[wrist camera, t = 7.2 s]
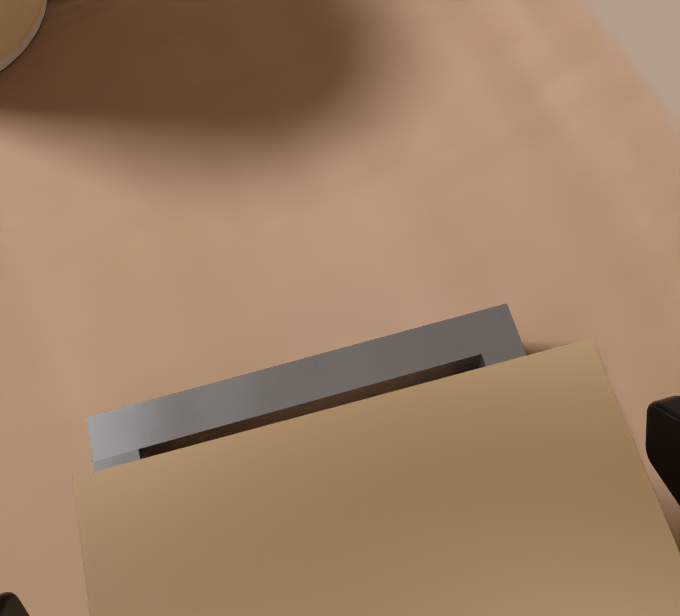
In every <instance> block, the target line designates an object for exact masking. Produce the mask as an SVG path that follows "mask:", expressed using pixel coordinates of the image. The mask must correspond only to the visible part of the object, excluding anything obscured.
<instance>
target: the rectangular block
mask: <svg viewBox="0 0 680 616" xmlns="http://www.w3.org/2000/svg"><path fill="white" fill-rule="evenodd" d="M72 482H73V490H74V497H75V505H76V512H77V520H78V527H79V535H80V542H81V550H82V558H83V565H84V573H85V580H86V588H87V595H88V603H89V610H90V616H680V552H679V550H678V547H677V545H676V543H675V540H674V538H673V535H672V533H671V530H670V528H669V526H668V523H667V521H666V518H665V516H664V513H663V511H662V509H661V506H660V504H659V501H658V499H657V496H656V494H655V492H654V489H653V487H652V484H651V482H650V479H649V477H648V474H647V472H646V470H645V467H644V465H643V462H642V460H641V457H640V455H639V453H638V450H637V448H636V445H635V443H634V440H633V438H632V436H631V433H630V431H629V428H628V426H627V423H626V421H625V419H624V416H623V414H622V411H621V409H620V406H619V404H618V402H617V399H616V397H615V394H614V392H613V389H612V387H611V385H610V382H609V380H608V377H607V375H606V372H605V370H604V368H603V365H602V363H601V360H600V358H599V355H598V353H597V350H596V348H595V346H594V343H593V341H592V338H590V339H586V340H583V341H579V342H575V343H571V344H568V345H564V346H560V347H557V348H553V349H549V350H545V351H542V352H538V353H534V354H530V355H527V356H523V357H519V358H516V359H512V360H508V361H504V362H501V363H497V364H493V365H490V366H486V367H482V368H478V369H475V370H471V371H467V372H464V373H460V374H456V375H452V376H449V377H445V378H441V379H437V380H434V381H430V382H426V383H423V384H419V385H415V386H411V387H408V388H404V389H400V390H397V391H393V392H389V393H385V394H382V395H378V396H374V397H370V398H367V399H363V400H359V401H356V402H352V403H348V404H344V405H341V406H337V407H333V408H330V409H326V410H322V411H318V412H315V413H311V414H307V415H303V416H300V417H296V418H292V419H289V420H285V421H281V422H277V423H274V424H270V425H266V426H263V427H259V428H255V429H251V430H248V431H244V432H240V433H236V434H233V435H229V436H225V437H222V438H218V439H214V440H210V441H207V442H203V443H199V444H196V445H192V446H188V447H184V448H181V449H177V450H173V451H170V452H166V453H162V454H158V455H155V456H151V457H147V458H143V459H140V460H136V461H132V462H129V463H125V464H121V465H117V466H114V467H110V468H106V469H103V470H99V471H95V472H91V473H88V474H84V475H80V476H76V477H73V478H72Z"/></svg>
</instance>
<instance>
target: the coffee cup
mask: <svg viewBox="0 0 680 616" xmlns="http://www.w3.org/2000/svg"><path fill="white" fill-rule="evenodd" d="M46 5H47V0H0V71H1V70H3V69H4V68H6V67H7V66H8V65H9V64H10V63H12V62H13V61H14V60H15V59H16V58H17V57H18V56H19V55H20V54H21V53H22V52H23V51H24V50H25V49H26V47H27V46H28V45H29V44H30V42H31V40H32V39H33V37H34V36H35V34H36V33H37V31H38V29H39V27H40V25H41V22H42V20H43V18H44V15H45V10H46Z"/></svg>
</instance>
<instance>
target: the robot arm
mask: <svg viewBox="0 0 680 616" xmlns="http://www.w3.org/2000/svg"><path fill="white" fill-rule="evenodd" d="M646 452H647V455H648V458H649V460H650V462H651V464H652V466H653V467H654V469H655V470H656V472H657V473H658V474H659V476H660V477H661V479H662V480H663V482H664V483H665V485H666V486H667V488H668V489H669V491H670V492H671V494H672V495H673V497H674V498H675V499H676V501H677V502H678V504H679V505H680V396H671V397H668V398H665V399H661V400H658V401H654V402H652V403H651V404H650V405H649V407H648V409H647V421H646ZM0 616H29V614H28V613H27V611H26V609H25V608H24V606H23V605H22V603H21V601H20V600H19V598H18V597H17V596H16V595H15V594H13V593H11V592H5V593H2V594H0Z"/></svg>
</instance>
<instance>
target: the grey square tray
mask: <svg viewBox="0 0 680 616" xmlns="http://www.w3.org/2000/svg"><path fill="white" fill-rule="evenodd" d="M523 356H527V355H526V352H525V350H524V347H523V344H522V342H521V339H520V337H519V334H518V331H517V329H516V326H515V324H514V321H513V318H512V316H511V313H510V311H509V308H508V305H507V304H503V305H500V306H496V307H492V308H488V309H485V310H481V311H477V312H474V313H470V314H466V315H463V316H459V317H455V318H452V319H448V320H444V321H440V322H437V323H433V324H429V325H426V326H422V327H418V328H415V329H411V330H407V331H404V332H400V333H396V334H392V335H389V336H385V337H381V338H378V339H374V340H370V341H367V342H363V343H359V344H356V345H352V346H348V347H344V348H341V349H337V350H333V351H330V352H326V353H322V354H319V355H315V356H311V357H308V358H304V359H300V360H296V361H293V362H289V363H285V364H282V365H278V366H274V367H271V368H267V369H263V370H260V371H256V372H252V373H248V374H245V375H241V376H237V377H234V378H230V379H226V380H223V381H219V382H215V383H212V384H208V385H204V386H200V387H197V388H193V389H189V390H186V391H182V392H178V393H175V394H171V395H167V396H164V397H160V398H156V399H152V400H149V401H145V402H141V403H138V404H134V405H130V406H127V407H123V408H119V409H116V410H112V411H108V412H104V413H101V414H97V415H93V416H90V417H86V420H87V426H88V433H89V439H90V446H91V452H92V459H93V465H94V472H95V471H99V470H103V469H106V468H110V467H114V466H117V465H121V464H125V463H129V462H132V461H136V460H140V459H143V458H147V457H151V456H155V455H158V454H162V453H166V452H170V451H173V450H177V449H181V448H184V447H188V446H192V445H196V444H199V443H203V442H207V441H210V440H214V439H218V438H222V437H225V436H229V435H233V434H236V433H240V432H244V431H248V430H251V429H255V428H259V427H263V426H266V425H270V424H274V423H277V422H281V421H285V420H289V419H292V418H296V417H300V416H303V415H307V414H311V413H315V412H318V411H322V410H326V409H330V408H333V407H337V406H341V405H344V404H348V403H352V402H356V401H359V400H363V399H367V398H370V397H374V396H378V395H382V394H385V393H389V392H393V391H397V390H400V389H404V388H408V387H411V386H415V385H419V384H423V383H426V382H430V381H434V380H437V379H441V378H445V377H449V376H452V375H456V374H460V373H464V372H467V371H471V370H475V369H478V368H482V367H486V366H490V365H493V364H497V363H501V362H504V361H508V360H512V359H516V358H519V357H523Z"/></svg>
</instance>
